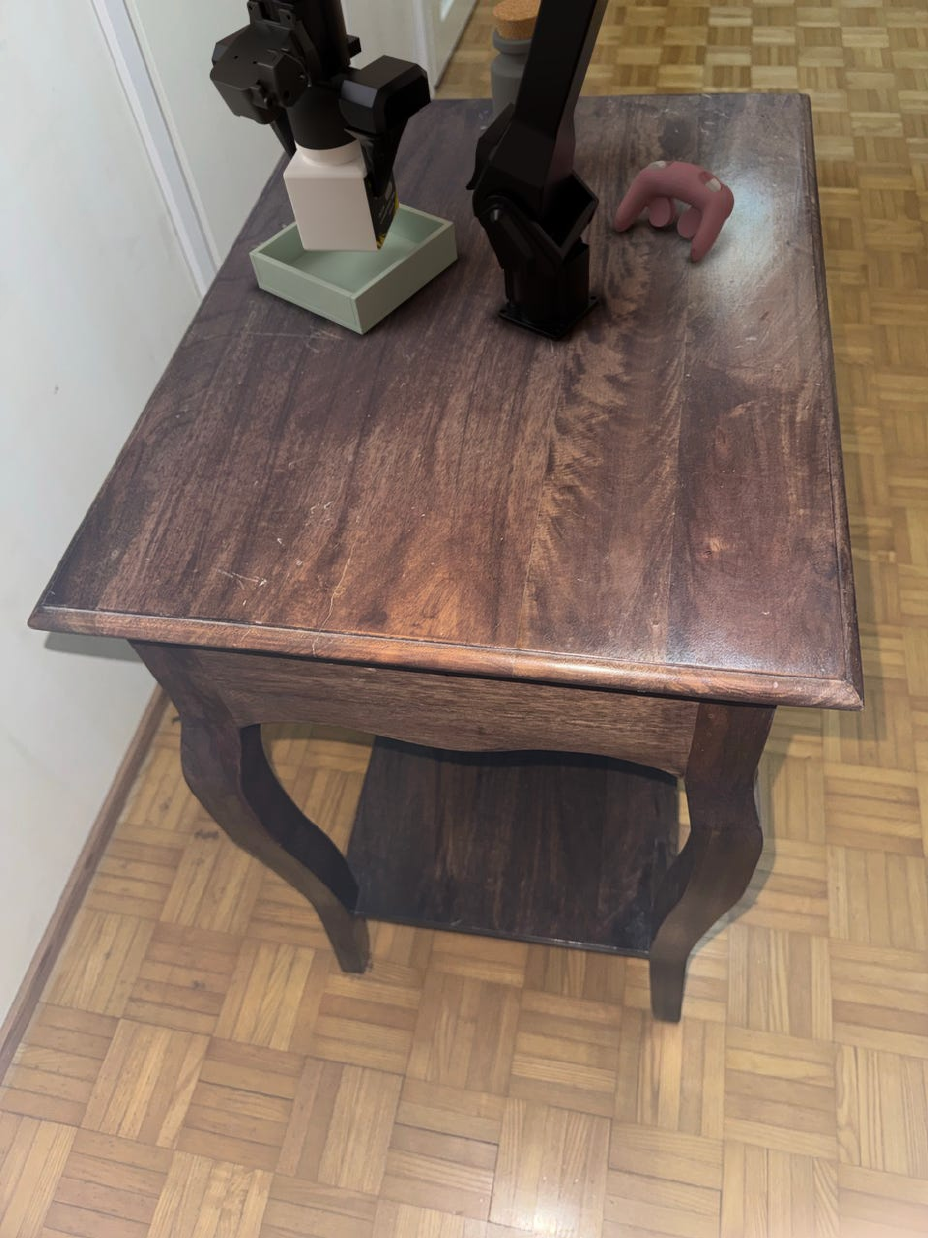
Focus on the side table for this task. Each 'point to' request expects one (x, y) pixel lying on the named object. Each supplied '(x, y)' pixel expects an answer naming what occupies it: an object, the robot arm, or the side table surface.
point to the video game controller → (686, 185)
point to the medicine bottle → (333, 181)
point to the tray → (357, 269)
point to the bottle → (511, 48)
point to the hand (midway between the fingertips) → (340, 181)
